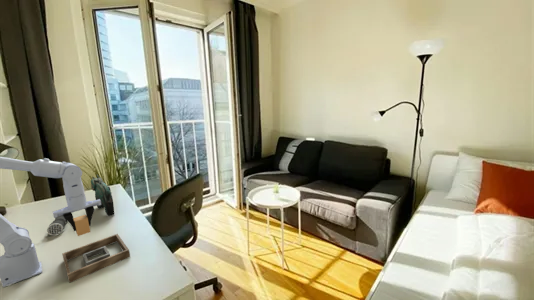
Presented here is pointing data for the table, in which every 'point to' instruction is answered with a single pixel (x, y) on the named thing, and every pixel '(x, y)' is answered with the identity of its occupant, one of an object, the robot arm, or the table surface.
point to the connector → (81, 225)
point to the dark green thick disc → (103, 195)
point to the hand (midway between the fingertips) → (82, 227)
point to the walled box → (98, 262)
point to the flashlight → (57, 225)
